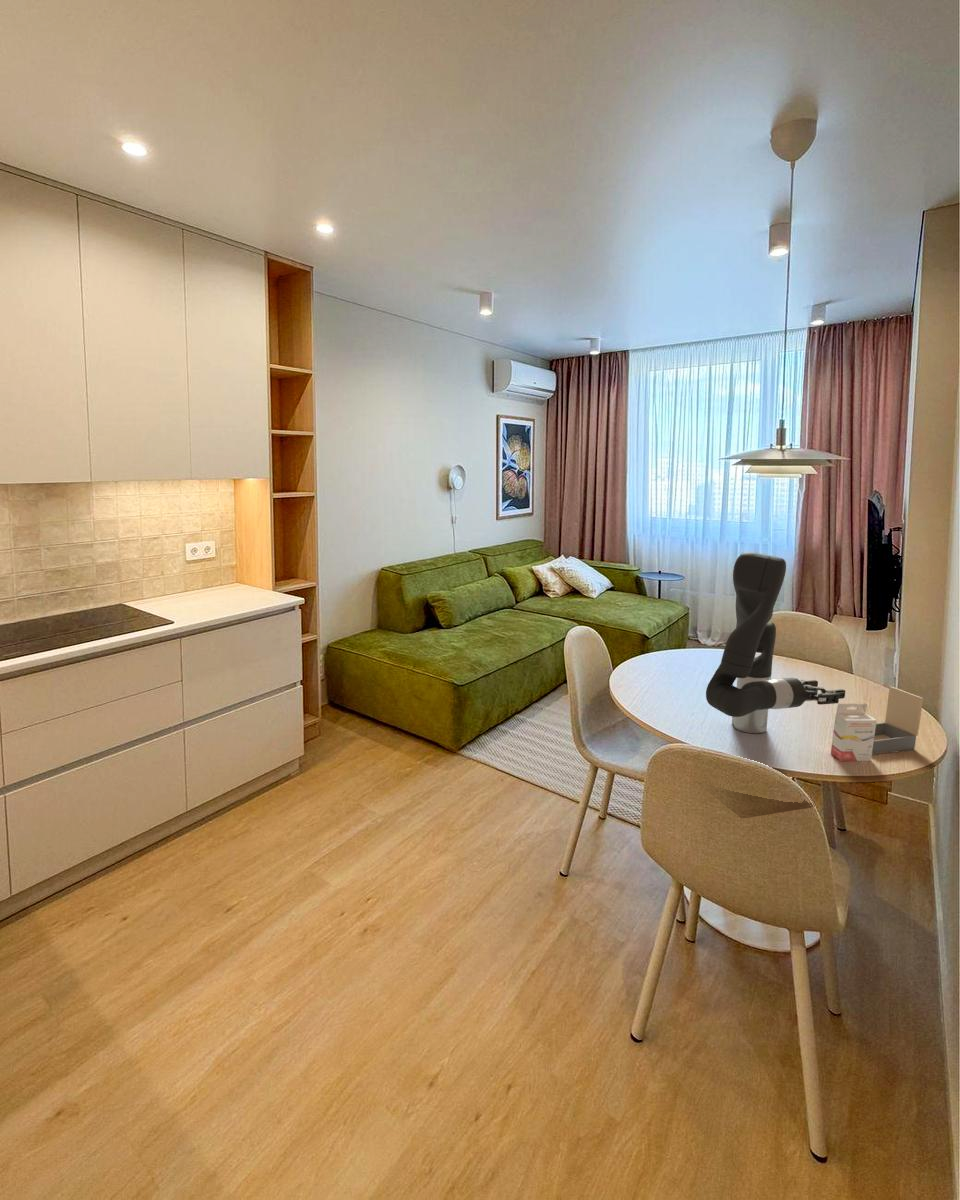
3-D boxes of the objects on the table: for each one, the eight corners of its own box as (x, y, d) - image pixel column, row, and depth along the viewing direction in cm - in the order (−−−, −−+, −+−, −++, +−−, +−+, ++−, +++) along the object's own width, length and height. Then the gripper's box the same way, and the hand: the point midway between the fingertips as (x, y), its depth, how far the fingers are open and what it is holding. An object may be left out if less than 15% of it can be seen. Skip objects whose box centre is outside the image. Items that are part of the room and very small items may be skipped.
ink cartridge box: (840, 761, 167) (846, 709, 164) (830, 753, 172) (835, 702, 169) (872, 761, 167) (878, 709, 164) (860, 753, 172) (866, 702, 169)
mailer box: (844, 740, 180) (849, 690, 177) (885, 735, 184) (891, 686, 181) (873, 755, 171) (880, 702, 168) (916, 749, 174) (923, 697, 171)
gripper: (804, 687, 151) (855, 682, 156) (761, 671, 164) (809, 667, 170) (801, 717, 152) (852, 711, 157) (758, 699, 166) (806, 694, 171)
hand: (829, 688), depth 163 cm, fingers open, 8 cm apart
